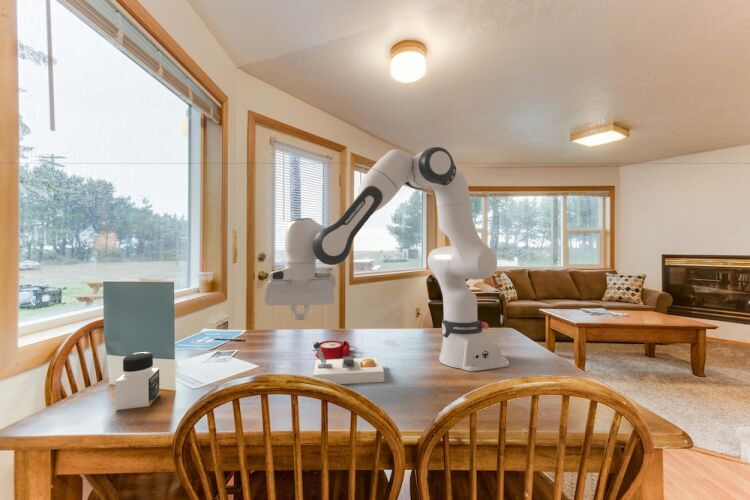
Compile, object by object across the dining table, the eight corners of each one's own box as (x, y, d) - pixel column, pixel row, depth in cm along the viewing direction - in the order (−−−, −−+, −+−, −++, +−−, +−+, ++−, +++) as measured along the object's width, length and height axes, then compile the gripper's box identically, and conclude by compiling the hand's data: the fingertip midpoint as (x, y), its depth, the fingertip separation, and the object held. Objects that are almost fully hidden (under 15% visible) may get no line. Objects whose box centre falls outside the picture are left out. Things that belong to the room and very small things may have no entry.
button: (373, 370, 100) (373, 358, 100) (374, 374, 96) (374, 362, 96) (361, 370, 100) (361, 359, 100) (362, 375, 96) (362, 363, 96)
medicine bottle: (149, 406, 79) (149, 357, 79) (114, 411, 77) (114, 360, 77) (159, 394, 85) (159, 348, 85) (128, 397, 83) (127, 351, 83)
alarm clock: (314, 341, 121) (353, 331, 122) (318, 357, 121) (357, 347, 122) (311, 350, 111) (353, 339, 112) (315, 367, 111) (357, 356, 112)
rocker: (352, 359, 101) (352, 356, 101) (353, 363, 94) (353, 360, 94) (343, 360, 100) (343, 356, 101) (343, 364, 94) (343, 360, 94)
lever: (327, 360, 97) (318, 340, 97) (327, 362, 95) (318, 342, 95) (321, 363, 97) (312, 343, 97) (320, 365, 95) (312, 345, 95)
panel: (378, 366, 104) (378, 356, 104) (384, 381, 92) (384, 369, 92) (316, 369, 102) (315, 358, 102) (313, 385, 90) (313, 373, 90)
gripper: (335, 272, 100) (335, 316, 100) (267, 272, 97) (267, 318, 97) (335, 273, 94) (335, 321, 94) (262, 274, 91) (262, 323, 91)
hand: (300, 319), depth 95 cm, fingers closed
